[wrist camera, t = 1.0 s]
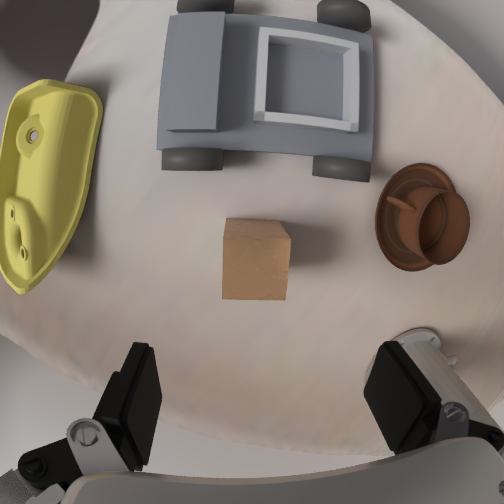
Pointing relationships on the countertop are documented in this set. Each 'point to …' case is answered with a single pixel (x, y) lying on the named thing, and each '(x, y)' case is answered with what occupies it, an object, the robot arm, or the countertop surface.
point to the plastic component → (44, 176)
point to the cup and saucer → (421, 218)
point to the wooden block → (255, 260)
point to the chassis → (268, 87)
